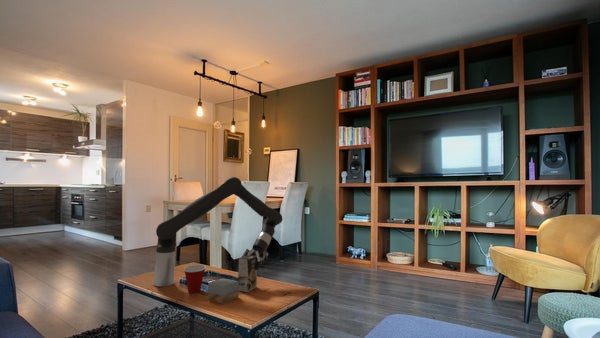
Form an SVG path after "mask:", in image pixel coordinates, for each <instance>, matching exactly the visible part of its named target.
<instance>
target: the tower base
mask: <svg viewBox="0 0 600 338" xmlns="http://www.w3.org/2000/svg"><path fill="white" fill-rule="evenodd" d="M239 292H240V291H239V290H236V291H234V292H231V293H229V294H227V295H225V296H223V295H219V294H214V293H209V292H208V291H207V292H206V293H207V297H206V300H207V301H210V302H213V303H218V304H222V305H226V304H227V303H230V302H232V301H234V300H236V299H238V298H239Z"/></svg>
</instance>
